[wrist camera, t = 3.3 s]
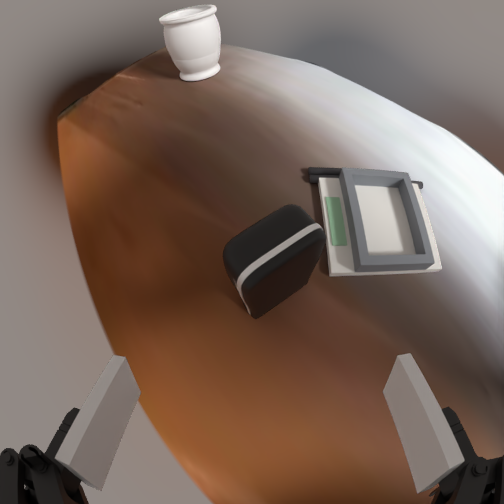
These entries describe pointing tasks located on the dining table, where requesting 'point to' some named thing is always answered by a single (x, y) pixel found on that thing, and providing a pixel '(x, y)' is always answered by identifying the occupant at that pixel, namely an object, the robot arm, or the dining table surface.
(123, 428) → the robot arm
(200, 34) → the jar
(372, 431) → the dining table surface
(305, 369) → the dining table surface
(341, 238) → the panel board
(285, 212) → the black rounded block
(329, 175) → the slim dark grey rod
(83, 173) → the dining table surface
